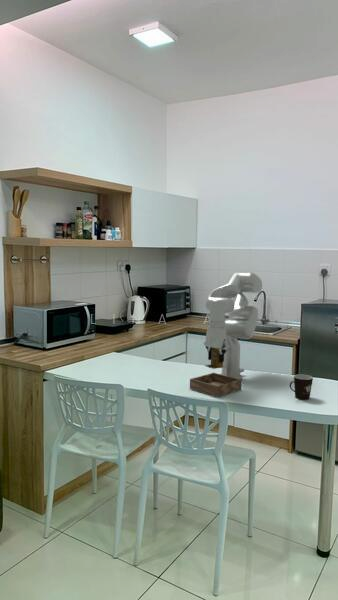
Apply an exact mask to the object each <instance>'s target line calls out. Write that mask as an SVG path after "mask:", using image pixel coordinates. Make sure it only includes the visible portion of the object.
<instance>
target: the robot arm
mask: <svg viewBox="0 0 338 600" xmlns="http://www.w3.org/2000/svg"><path fill="white" fill-rule="evenodd" d="M262 288H263V281H262V279H261V278H260V277H259V276H258V275H257V274H255V273H254V272H249V271H248V272H247V271H235V272H232V273H231V274H230V276H229V277H228V279H227V280H226V283H225V284H224V285H221V286H219V287H218V288H215V289H214V290H212V291H211V292H210V293H209V295H208V296H207V298H206V300H205V308H206V310H207V311H208V314H209V315H208V316H209V318H208V319H209V320H208V321H207V323H208V326H207V327H206V328H207V330H206V333H205V334H206V335H205V341H204V342H203V345H204V346H205V349H206V350H207V351H206V352H207V354H208V355H207V357H208V358H207V360H208V361H211V348H216V349H219V352H220V354H219V362H220V363H221V362H223V366H226V367H224V368H221V373H220V374H221V375H225V376H229V377H233V378H237V379H240V380H242V379H243V375H242V374H241V373H243V372H245V368H243V367H242V368H241V367H240V365H241V345H240V342H239V341H238V339H244V340H245V339H246V340H249V339H251V338H253V336H254V334H255V331H256V327H257V324H258V321H259V309H258V308H257V307H256V306H255V305H254V306H253V305H249V299H248V298H247V297H246V295H245V293H251V294H254V293H255V294H257V293H260V292H261V291H262ZM226 314H228V319H226V317H225V316H226Z"/></svg>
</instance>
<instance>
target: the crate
mask: <svg viewBox="0 0 338 600" xmlns="http://www.w3.org/2000/svg"><path fill="white" fill-rule="evenodd" d="M242 382H243V381H242V379H237V378H233V377H229V376H225V375H221V373H217V372H211V373H208V374H207V373H206V374H204V375H201V376H200V375H199V376H196V377H192V378H189V390H192V391H196V392H198V393H203V394H206V395H209V396H212V397H215V398H220V397H223V396H226V395H230V394H232V393H235V391H236V392H239V391H242ZM238 390H239V391H238Z"/></svg>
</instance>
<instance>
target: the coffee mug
mask: <svg viewBox="0 0 338 600" xmlns="http://www.w3.org/2000/svg"><path fill="white" fill-rule="evenodd" d="M313 379H314V377H313V376H312V375H307V374H301V373H300V374H294V375H293V380H291V381H290V383H289V388H290V390H291V391H292V392H294V396H295V397H294V398H295V399H297V400H301V401H307V400H310V397H311V391H312V385H313V381H314V380H313ZM292 384H294V389H293V387H292Z"/></svg>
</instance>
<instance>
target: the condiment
mask: <svg viewBox="0 0 338 600" xmlns="http://www.w3.org/2000/svg"><path fill="white" fill-rule="evenodd" d="M219 354H220V352H219V349H216V348H211V360H210V364H205V365H204V367H207V368H209V369H212V370H215V369H222V368H224V367H226V366H223V362H221V363H220V362H219Z"/></svg>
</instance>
